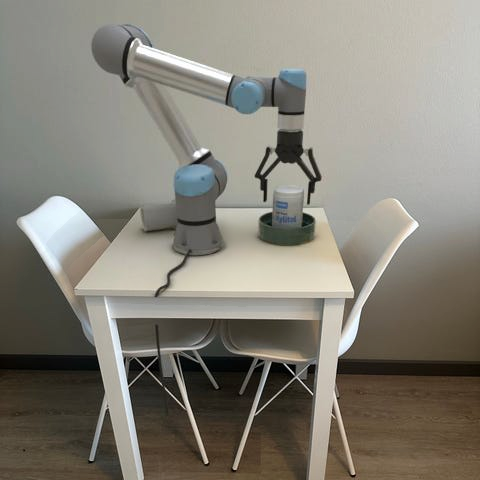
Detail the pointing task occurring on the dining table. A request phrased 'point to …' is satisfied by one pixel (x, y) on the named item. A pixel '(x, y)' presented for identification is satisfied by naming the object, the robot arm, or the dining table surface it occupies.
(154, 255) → the dining table surface
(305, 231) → the dark green bowl
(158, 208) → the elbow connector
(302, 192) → the supplement tub
